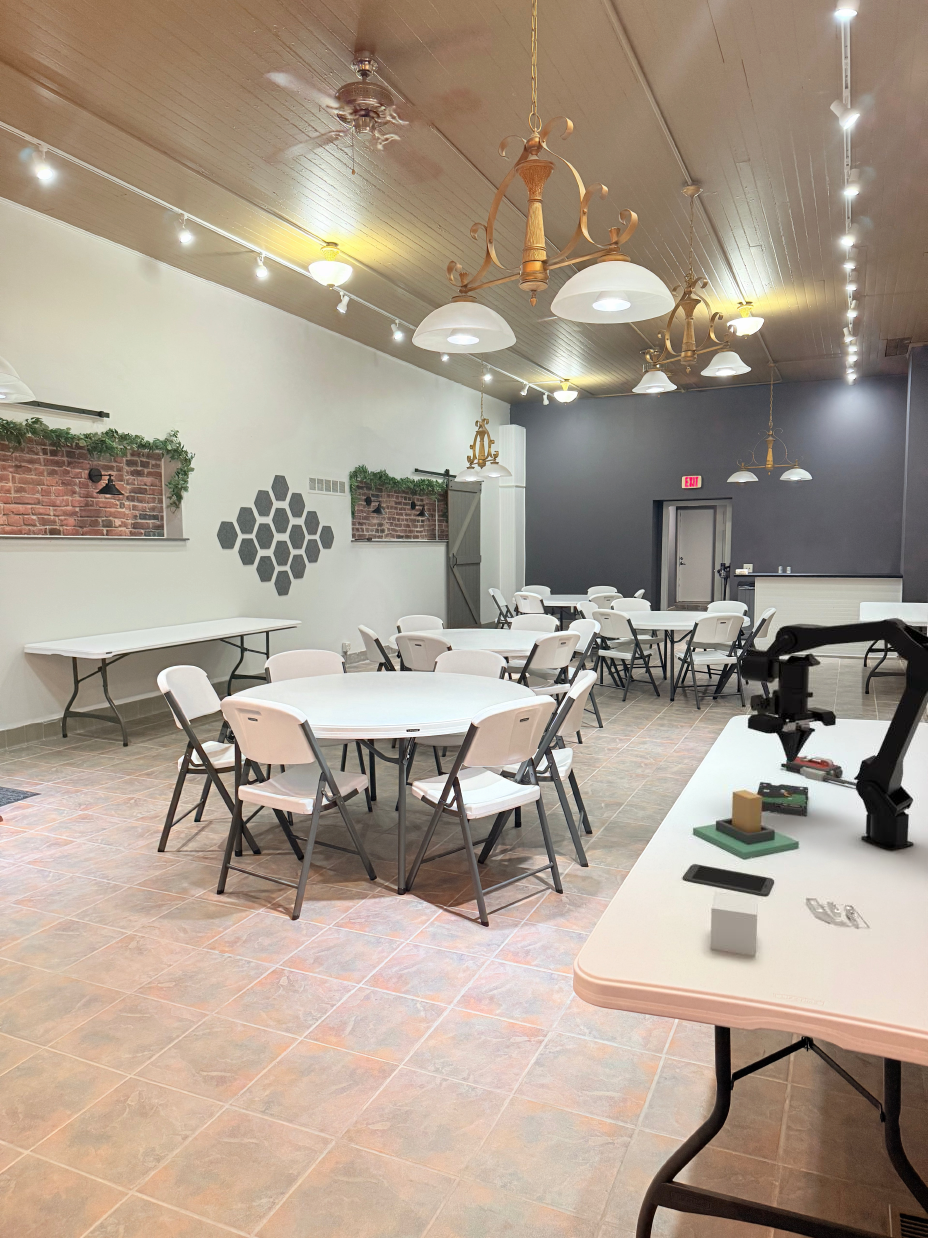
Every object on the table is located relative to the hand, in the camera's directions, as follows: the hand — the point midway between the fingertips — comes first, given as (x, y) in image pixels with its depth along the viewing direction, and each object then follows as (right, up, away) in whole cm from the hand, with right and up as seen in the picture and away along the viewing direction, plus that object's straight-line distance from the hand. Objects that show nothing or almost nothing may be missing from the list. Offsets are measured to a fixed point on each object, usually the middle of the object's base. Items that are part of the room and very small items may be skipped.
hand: (790, 761), depth 166 cm
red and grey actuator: (+20, -10, +31) cm, 38 cm away
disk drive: (+3, -12, +11) cm, 16 cm away
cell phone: (-22, -16, -29) cm, 40 cm away
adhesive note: (-28, -17, -50) cm, 60 cm away
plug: (-13, -12, -12) cm, 21 cm away
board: (-13, -13, -11) cm, 22 cm away
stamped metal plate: (-10, -17, -42) cm, 46 cm away
